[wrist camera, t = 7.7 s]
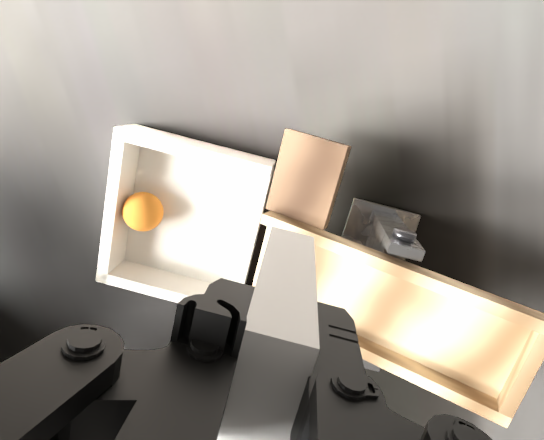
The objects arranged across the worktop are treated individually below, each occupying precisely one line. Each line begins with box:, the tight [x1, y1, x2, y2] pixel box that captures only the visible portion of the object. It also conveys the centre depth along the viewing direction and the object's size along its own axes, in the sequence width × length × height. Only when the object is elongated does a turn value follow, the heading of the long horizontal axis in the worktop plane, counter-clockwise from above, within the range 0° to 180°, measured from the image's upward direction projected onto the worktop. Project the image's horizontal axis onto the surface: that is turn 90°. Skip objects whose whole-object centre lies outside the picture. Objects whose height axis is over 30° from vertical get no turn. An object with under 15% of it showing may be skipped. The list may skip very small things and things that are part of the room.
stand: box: [341, 198, 426, 372], centre depth 33 cm, size 6×11×9 cm, turn 166°
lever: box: [252, 128, 544, 428], centre depth 28 cm, size 20×14×2 cm
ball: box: [122, 192, 164, 231], centre depth 35 cm, size 4×4×4 cm
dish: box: [96, 124, 276, 303], centre depth 36 cm, size 13×14×4 cm
